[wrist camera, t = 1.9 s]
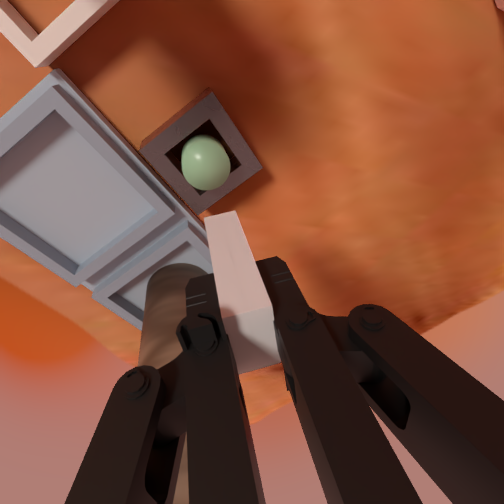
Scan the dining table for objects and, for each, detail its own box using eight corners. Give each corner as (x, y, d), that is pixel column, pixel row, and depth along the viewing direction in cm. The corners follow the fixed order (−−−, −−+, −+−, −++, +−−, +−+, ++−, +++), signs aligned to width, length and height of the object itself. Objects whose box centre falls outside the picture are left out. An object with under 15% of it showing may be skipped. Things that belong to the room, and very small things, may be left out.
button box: (208, 87, 25) (212, 91, 22) (255, 157, 29) (262, 167, 26) (142, 140, 26) (138, 150, 23) (195, 201, 30) (197, 215, 27)
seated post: (184, 251, 31) (196, 476, 15) (225, 290, 35) (270, 503, 19) (131, 288, 32) (88, 536, 16) (177, 322, 36) (180, 549, 20)
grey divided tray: (59, 68, 22) (46, 70, 20) (258, 284, 37) (264, 299, 35) (-60, 176, 24) (-83, 189, 22) (174, 339, 39) (174, 357, 37)
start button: (207, 124, 24) (211, 132, 22) (233, 161, 26) (239, 171, 24) (171, 152, 25) (171, 163, 22) (200, 186, 27) (202, 199, 24)
